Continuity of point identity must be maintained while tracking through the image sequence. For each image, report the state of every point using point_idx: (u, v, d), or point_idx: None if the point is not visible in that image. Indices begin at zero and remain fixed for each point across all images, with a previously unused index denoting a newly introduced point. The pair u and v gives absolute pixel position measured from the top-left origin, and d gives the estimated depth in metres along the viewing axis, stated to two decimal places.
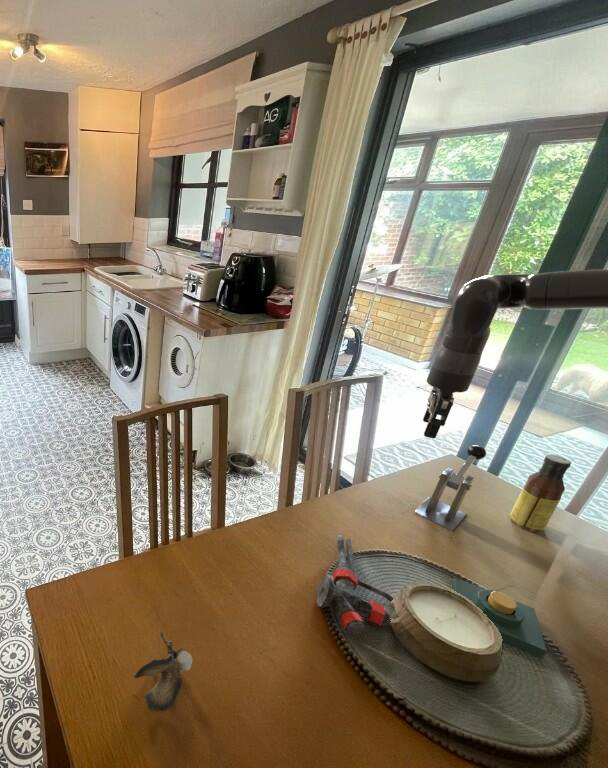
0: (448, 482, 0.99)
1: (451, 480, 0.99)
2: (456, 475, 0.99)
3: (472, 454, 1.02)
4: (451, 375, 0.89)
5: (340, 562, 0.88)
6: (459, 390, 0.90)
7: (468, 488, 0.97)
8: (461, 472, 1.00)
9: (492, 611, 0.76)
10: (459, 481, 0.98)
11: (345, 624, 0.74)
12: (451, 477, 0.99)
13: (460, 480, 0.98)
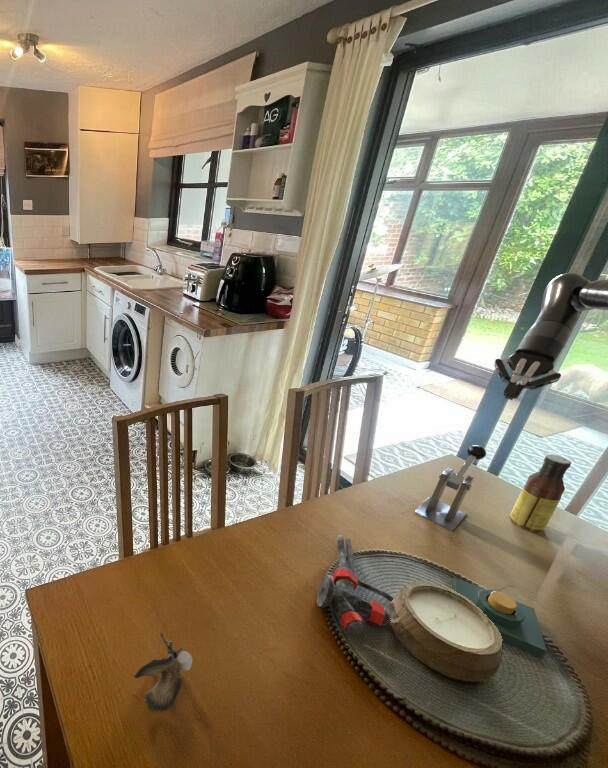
0: (448, 482, 0.99)
1: (451, 480, 0.99)
2: (456, 475, 0.99)
3: (472, 454, 1.02)
4: None
5: (340, 562, 0.88)
6: (519, 347, 1.06)
7: (468, 488, 0.97)
8: (461, 472, 1.00)
9: (492, 611, 0.76)
10: (459, 481, 0.98)
11: (345, 624, 0.74)
12: (451, 477, 0.99)
13: (460, 480, 0.98)
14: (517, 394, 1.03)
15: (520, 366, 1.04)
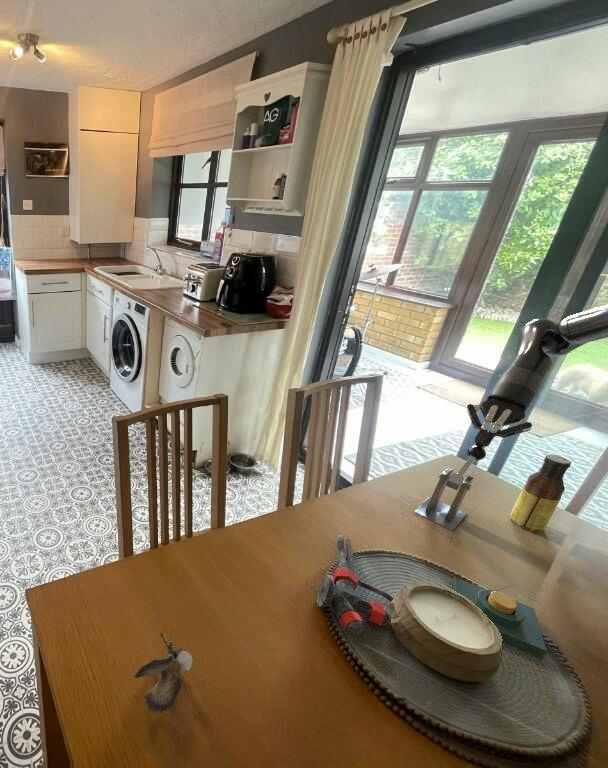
0: (448, 482, 0.99)
1: (451, 480, 0.99)
2: (456, 475, 0.99)
3: (471, 455, 1.02)
4: None
5: (340, 562, 0.88)
6: (491, 394, 1.04)
7: (468, 488, 0.97)
8: (461, 473, 1.00)
9: (492, 611, 0.76)
10: (459, 481, 0.98)
11: (345, 624, 0.74)
12: (451, 477, 0.99)
13: (460, 480, 0.98)
14: (488, 442, 1.01)
15: (491, 413, 1.02)
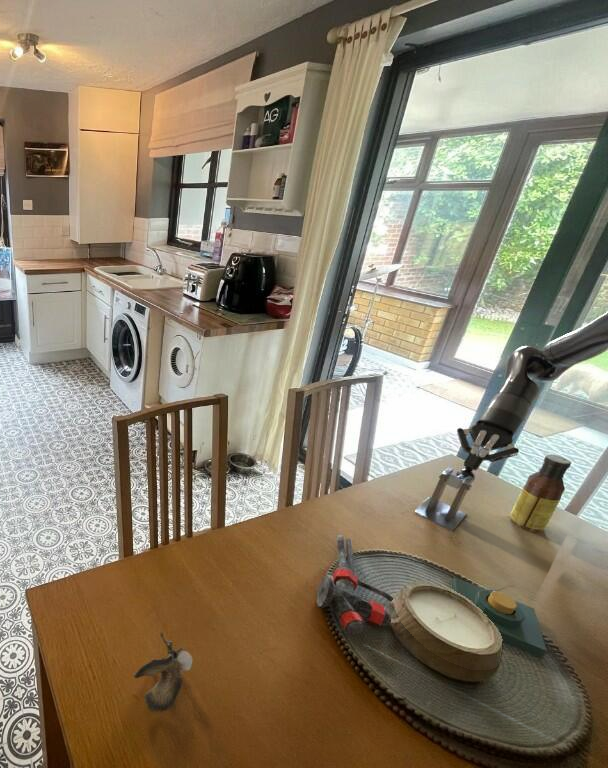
0: (450, 478, 0.99)
1: (453, 476, 0.99)
2: (456, 476, 1.00)
3: (463, 474, 1.05)
4: None
5: (340, 562, 0.88)
6: (480, 418, 1.07)
7: (468, 488, 0.97)
8: None
9: (492, 611, 0.76)
10: (461, 479, 0.98)
11: (345, 624, 0.74)
12: (453, 475, 0.99)
13: (461, 479, 0.98)
14: (476, 466, 1.04)
15: (480, 438, 1.06)
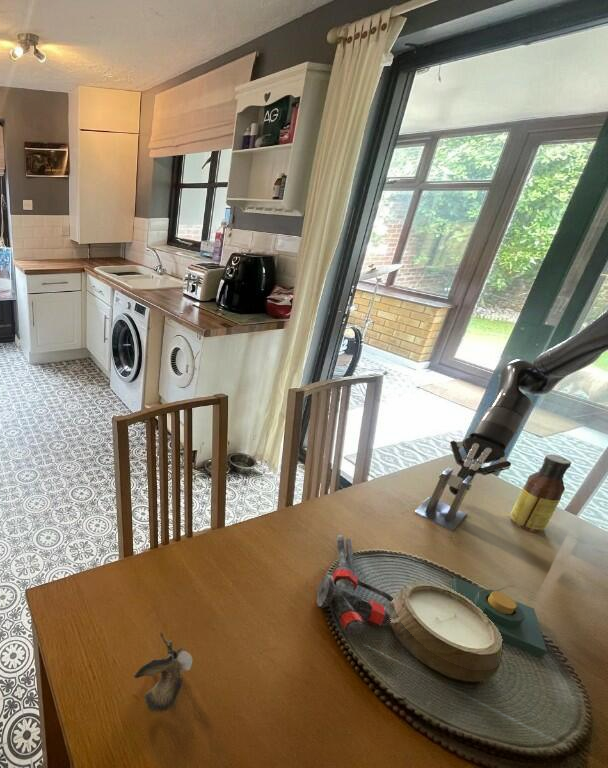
0: (451, 477, 0.99)
1: (454, 475, 0.99)
2: None
3: None
4: None
5: (340, 562, 0.88)
6: (473, 431, 1.08)
7: (468, 488, 0.97)
8: None
9: (492, 611, 0.76)
10: None
11: (345, 624, 0.74)
12: None
13: None
14: None
15: (473, 451, 1.06)
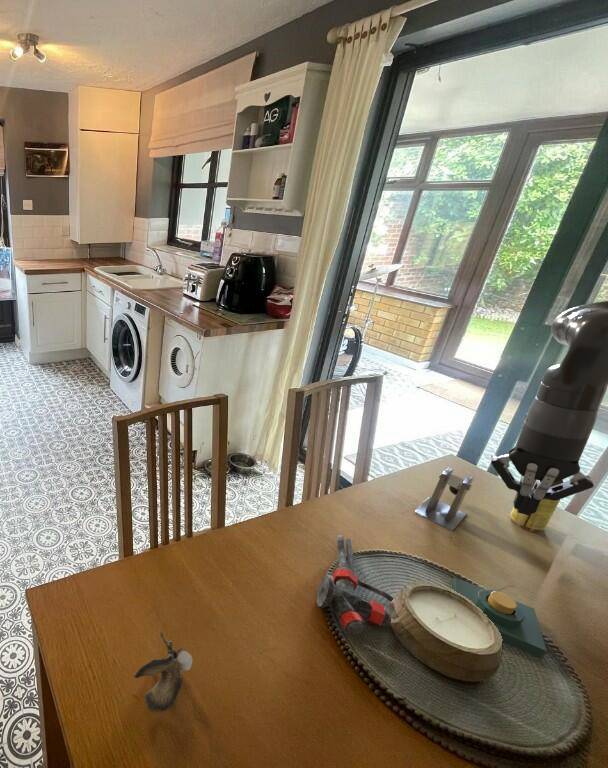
0: (451, 477, 0.99)
1: (454, 475, 0.99)
2: None
3: None
4: (523, 424, 0.71)
5: (340, 562, 0.88)
6: (523, 446, 0.70)
7: (468, 488, 0.97)
8: None
9: (492, 611, 0.76)
10: None
11: (345, 624, 0.74)
12: None
13: None
14: (534, 510, 0.73)
15: (530, 474, 0.71)
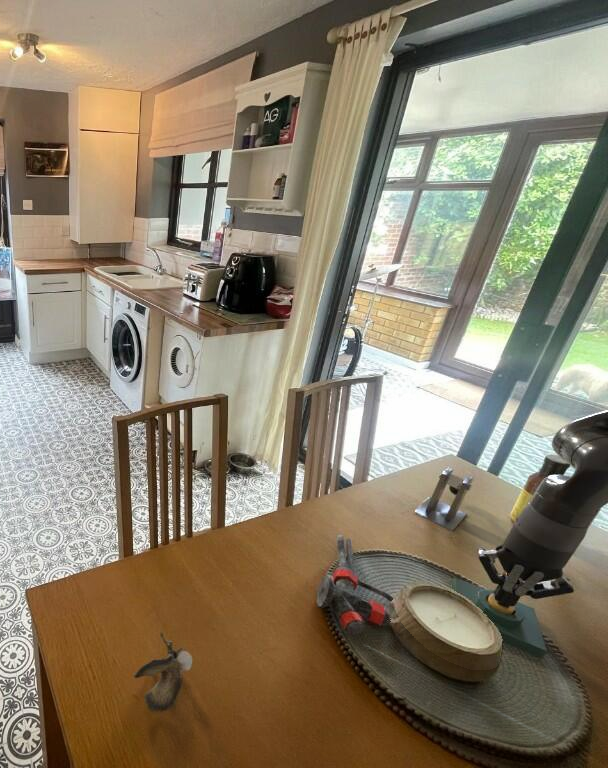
0: (451, 477, 0.99)
1: (454, 475, 0.99)
2: None
3: None
4: (513, 526, 0.72)
5: (340, 562, 0.88)
6: (512, 549, 0.71)
7: (468, 488, 0.97)
8: None
9: (492, 611, 0.76)
10: None
11: (345, 624, 0.74)
12: None
13: None
14: (513, 604, 0.75)
15: (515, 574, 0.72)
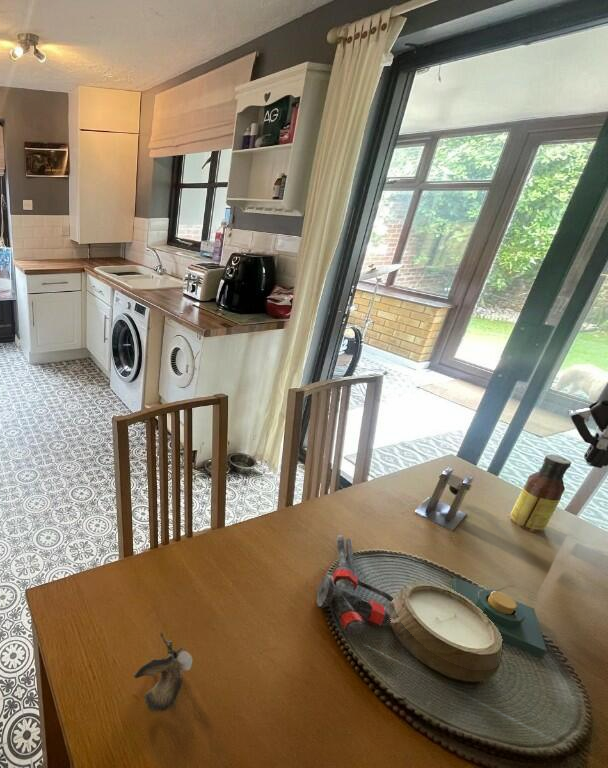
0: (451, 477, 0.99)
1: (454, 475, 0.99)
2: None
3: None
4: None
5: (340, 562, 0.88)
6: None
7: (468, 488, 0.97)
8: None
9: (492, 611, 0.76)
10: None
11: (345, 624, 0.74)
12: None
13: None
14: (607, 463, 0.74)
15: None
